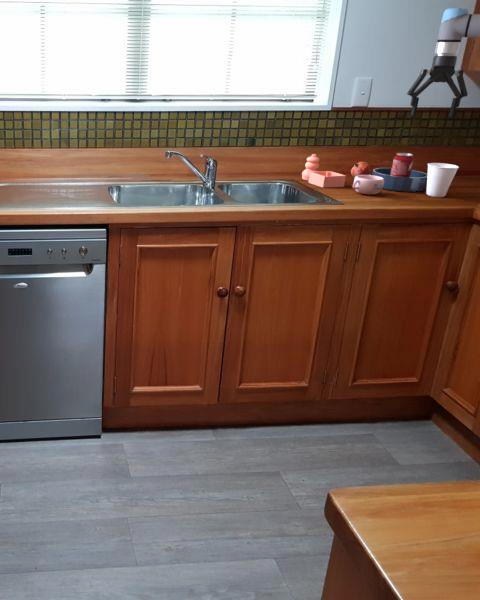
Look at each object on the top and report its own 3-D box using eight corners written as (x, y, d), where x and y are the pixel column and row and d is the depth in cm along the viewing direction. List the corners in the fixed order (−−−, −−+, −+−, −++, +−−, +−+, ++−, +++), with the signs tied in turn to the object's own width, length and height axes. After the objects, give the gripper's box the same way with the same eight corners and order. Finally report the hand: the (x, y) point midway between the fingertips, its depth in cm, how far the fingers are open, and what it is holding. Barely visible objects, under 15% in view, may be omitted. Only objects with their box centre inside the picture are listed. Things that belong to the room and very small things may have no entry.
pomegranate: (358, 182, 250) (342, 167, 247) (372, 169, 247) (357, 153, 244) (365, 188, 244) (349, 173, 241) (380, 174, 241) (364, 159, 238)
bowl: (415, 183, 242) (418, 169, 240) (432, 193, 224) (436, 179, 222) (364, 180, 245) (367, 166, 242) (377, 190, 227) (381, 176, 225)
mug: (366, 189, 229) (370, 173, 226) (387, 195, 220) (391, 179, 218) (341, 191, 225) (344, 175, 222) (361, 197, 216) (365, 181, 214)
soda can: (402, 188, 230) (410, 156, 225) (384, 185, 235) (391, 153, 230) (410, 186, 234) (417, 154, 229) (392, 182, 239) (399, 152, 234)
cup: (450, 200, 216) (458, 169, 211) (419, 196, 220) (426, 165, 216) (451, 195, 223) (459, 164, 219) (421, 191, 228) (428, 161, 224)
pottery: (343, 186, 232) (349, 160, 229) (322, 187, 230) (327, 161, 226) (315, 177, 248) (319, 152, 244) (295, 177, 246) (299, 153, 242)
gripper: (478, 55, 222) (463, 115, 230) (405, 54, 225) (393, 114, 234) (487, 55, 215) (472, 117, 223) (413, 54, 219) (400, 116, 227)
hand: (432, 116), depth 228 cm, fingers open, 13 cm apart
